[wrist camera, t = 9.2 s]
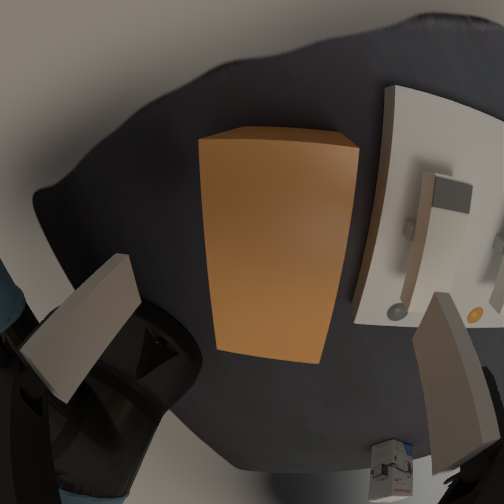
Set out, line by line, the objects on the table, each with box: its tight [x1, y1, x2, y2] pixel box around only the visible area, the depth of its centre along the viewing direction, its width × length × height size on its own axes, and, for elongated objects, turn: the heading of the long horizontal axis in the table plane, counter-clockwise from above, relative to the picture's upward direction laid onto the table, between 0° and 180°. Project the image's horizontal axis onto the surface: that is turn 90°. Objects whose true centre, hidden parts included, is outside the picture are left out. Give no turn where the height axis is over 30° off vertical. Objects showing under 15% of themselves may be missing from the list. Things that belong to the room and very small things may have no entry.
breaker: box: [400, 171, 473, 313], centre depth 13 cm, size 3×8×2 cm, turn 0°
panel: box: [352, 85, 504, 328], centre depth 14 cm, size 23×17×4 cm
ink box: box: [368, 439, 413, 502], centre depth 31 cm, size 9×5×12 cm, turn 54°
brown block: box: [198, 126, 359, 364], centre depth 16 cm, size 6×12×8 cm, turn 0°
